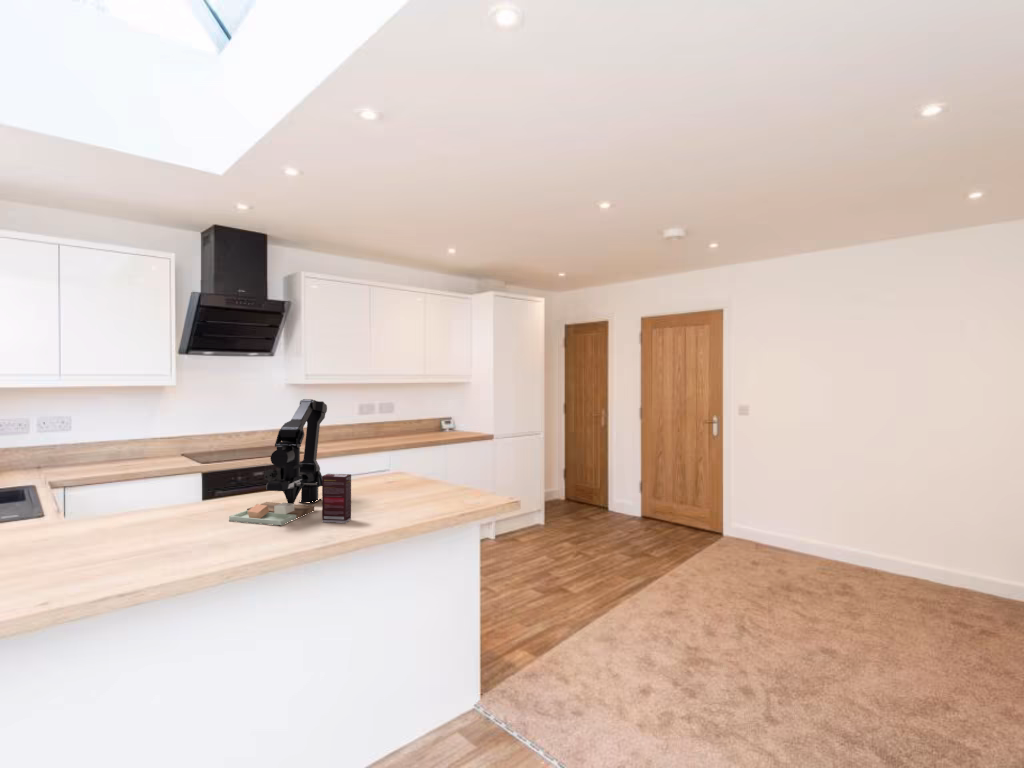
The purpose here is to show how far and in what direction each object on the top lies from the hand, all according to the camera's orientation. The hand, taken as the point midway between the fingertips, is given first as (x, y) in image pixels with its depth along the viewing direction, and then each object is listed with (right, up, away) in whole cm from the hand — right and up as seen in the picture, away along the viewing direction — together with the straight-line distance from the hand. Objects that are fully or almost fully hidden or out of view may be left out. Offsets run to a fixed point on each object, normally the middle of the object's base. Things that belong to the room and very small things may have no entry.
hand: (290, 505), depth 182 cm
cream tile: (-1, -2, -3) cm, 3 cm away
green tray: (-7, -4, -6) cm, 10 cm away
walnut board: (-5, -3, +3) cm, 6 cm away
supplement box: (+18, -4, -6) cm, 19 cm away
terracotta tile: (-9, -2, -4) cm, 10 cm away
